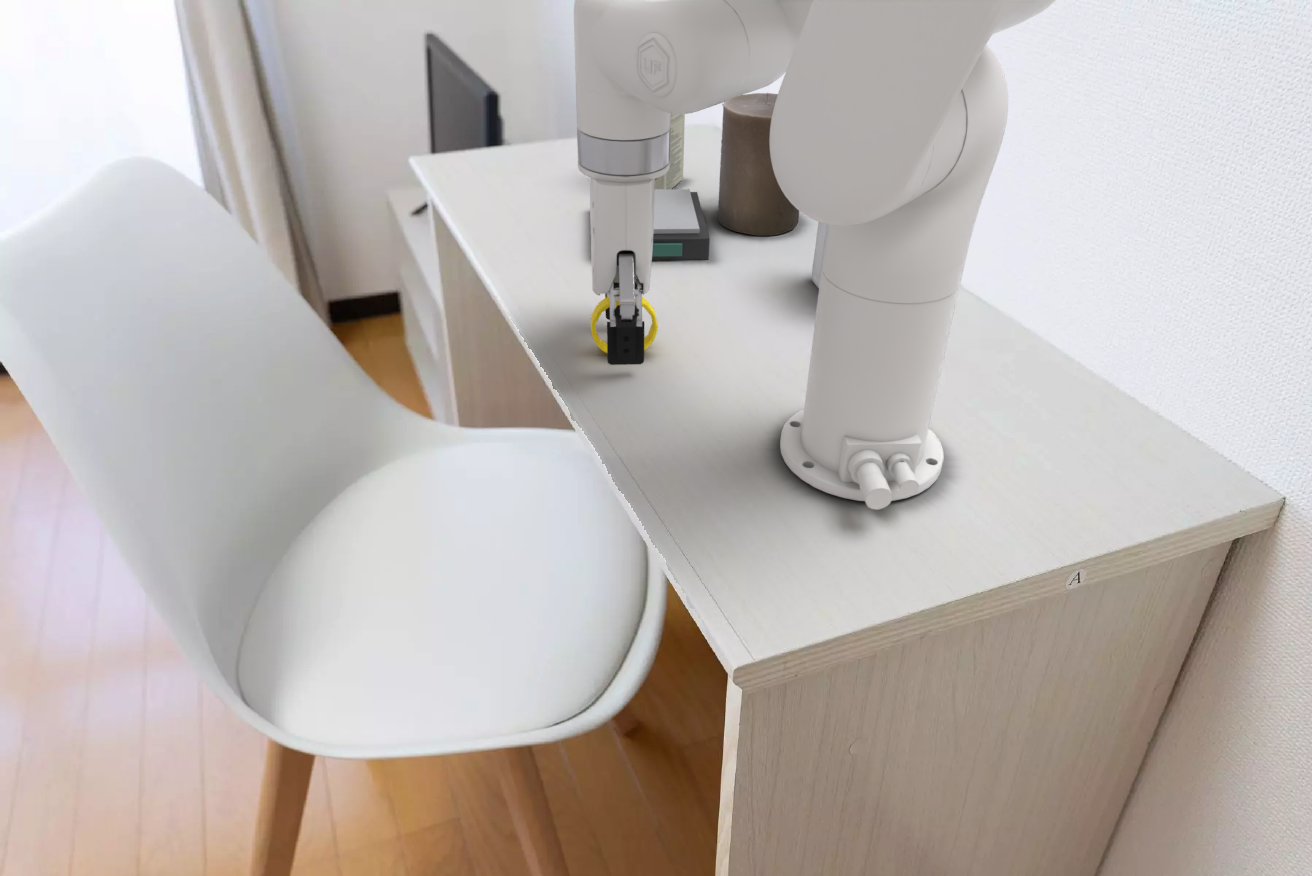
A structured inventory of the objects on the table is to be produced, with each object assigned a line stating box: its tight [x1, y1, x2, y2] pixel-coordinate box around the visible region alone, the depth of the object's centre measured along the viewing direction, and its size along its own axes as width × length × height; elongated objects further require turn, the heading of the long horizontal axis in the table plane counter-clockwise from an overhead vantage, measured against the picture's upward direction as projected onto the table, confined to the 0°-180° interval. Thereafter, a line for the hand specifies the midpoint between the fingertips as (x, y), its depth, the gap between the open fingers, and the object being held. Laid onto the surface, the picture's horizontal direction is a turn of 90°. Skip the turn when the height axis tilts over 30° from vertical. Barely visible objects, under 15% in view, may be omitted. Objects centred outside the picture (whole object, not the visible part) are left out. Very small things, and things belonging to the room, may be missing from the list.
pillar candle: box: [717, 92, 800, 237], centre depth 111 cm, size 10×10×15 cm
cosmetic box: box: [655, 113, 686, 189], centre depth 121 cm, size 6×4×12 cm
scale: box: [652, 188, 711, 261], centre depth 110 cm, size 14×12×3 cm
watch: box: [590, 288, 659, 354], centre depth 87 cm, size 6×3×6 cm, turn 98°
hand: (624, 338), depth 88 cm, fingers open, 7 cm apart
